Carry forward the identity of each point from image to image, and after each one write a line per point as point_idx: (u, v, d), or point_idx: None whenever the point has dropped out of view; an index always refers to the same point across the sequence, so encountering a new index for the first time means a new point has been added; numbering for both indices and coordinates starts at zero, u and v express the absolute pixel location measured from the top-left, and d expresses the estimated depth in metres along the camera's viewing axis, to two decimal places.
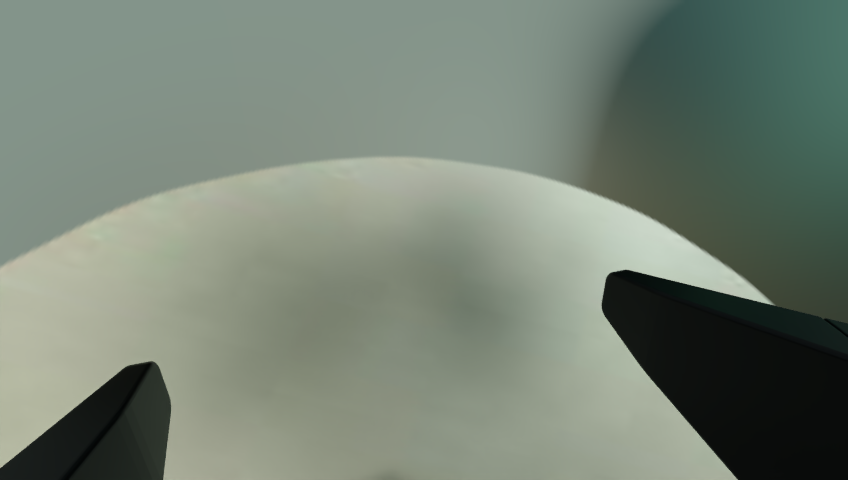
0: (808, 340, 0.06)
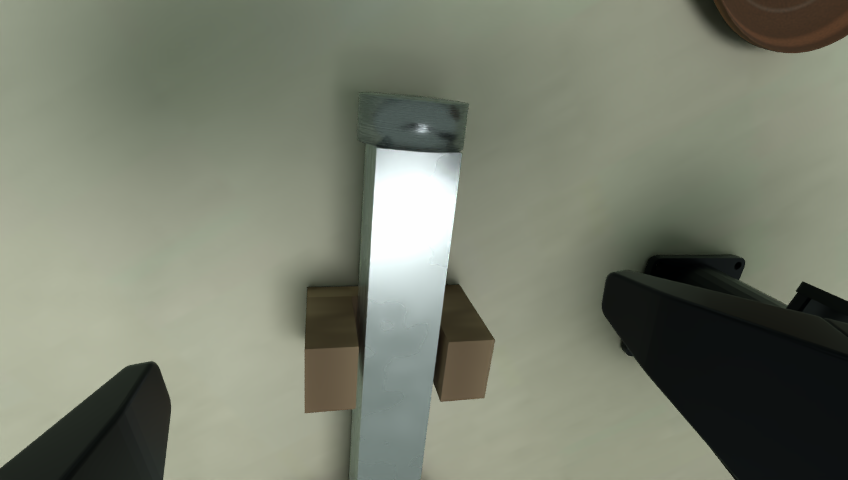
0: (808, 340, 0.06)
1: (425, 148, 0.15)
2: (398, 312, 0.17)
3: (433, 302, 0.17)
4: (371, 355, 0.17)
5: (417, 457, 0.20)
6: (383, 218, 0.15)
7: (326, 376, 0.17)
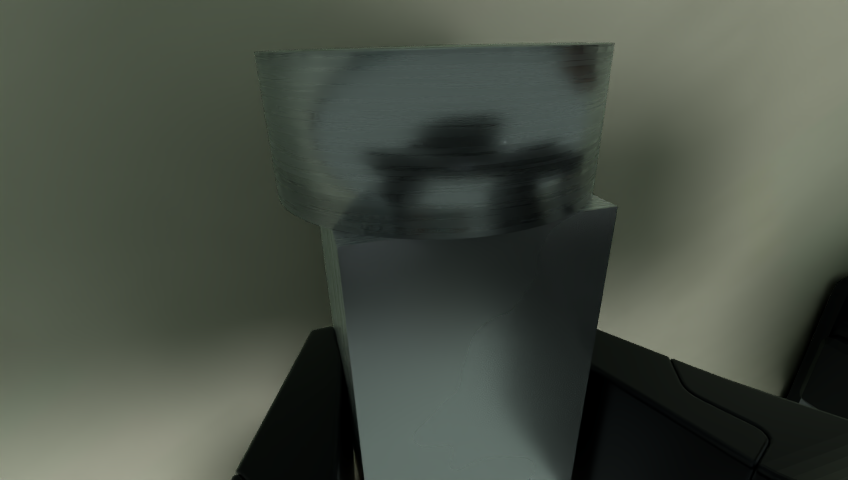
0: (638, 388, 0.05)
1: (512, 220, 0.04)
2: None
3: None
4: None
5: None
6: (393, 434, 0.05)
7: None
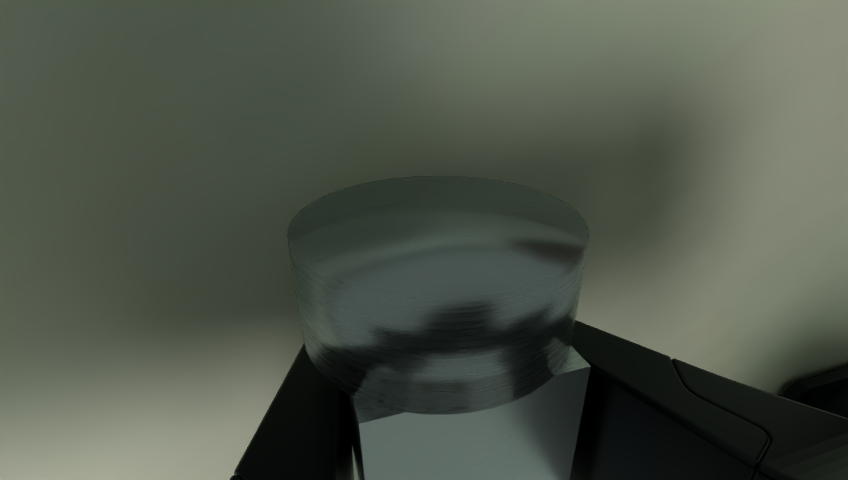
0: (639, 387, 0.05)
1: (501, 397, 0.05)
2: None
3: None
4: None
5: None
6: None
7: None
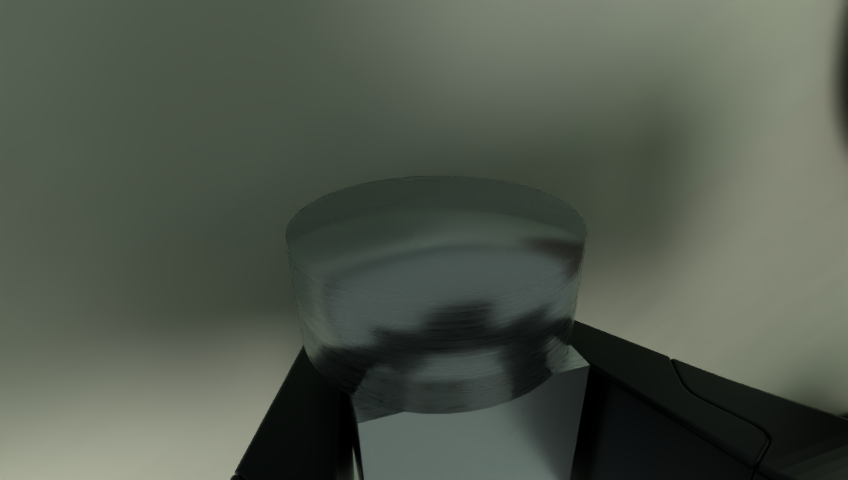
0: (639, 387, 0.05)
1: (500, 396, 0.05)
2: None
3: None
4: None
5: None
6: None
7: None
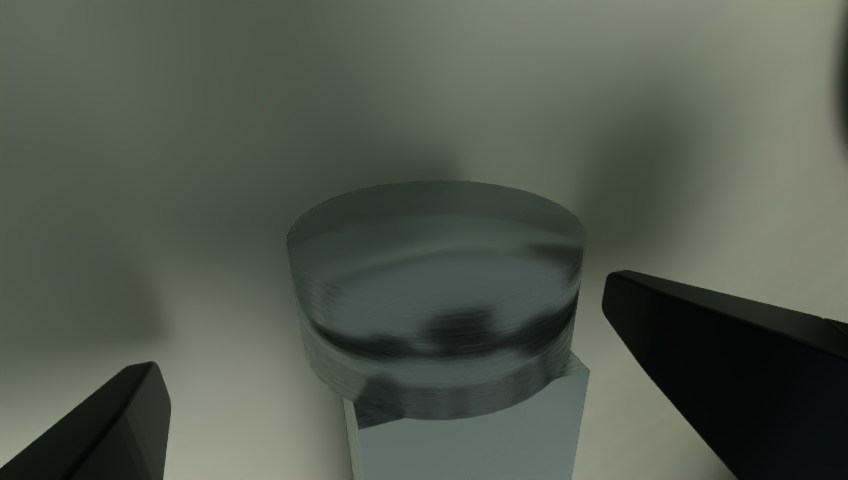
0: (808, 340, 0.06)
1: (500, 403, 0.05)
2: None
3: None
4: None
5: None
6: None
7: None
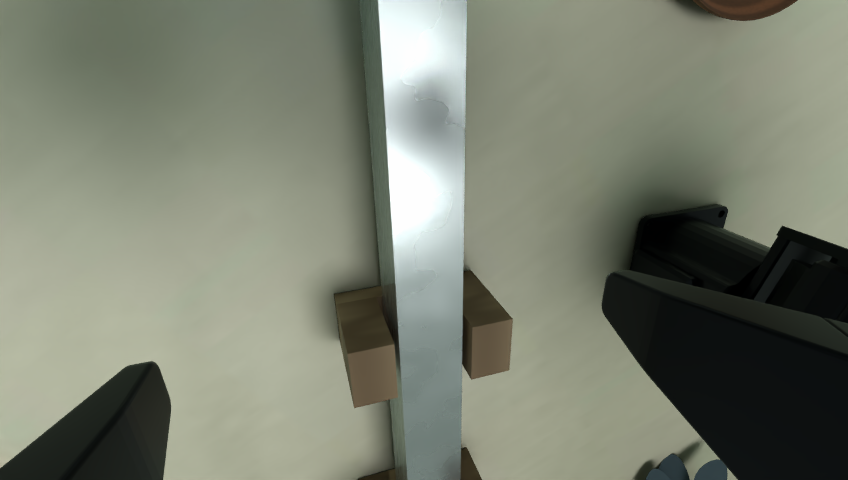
0: (808, 340, 0.06)
1: None
2: (420, 181, 0.17)
3: (455, 167, 0.17)
4: (398, 232, 0.17)
5: (456, 339, 0.20)
6: (393, 73, 0.15)
7: (369, 374, 0.19)
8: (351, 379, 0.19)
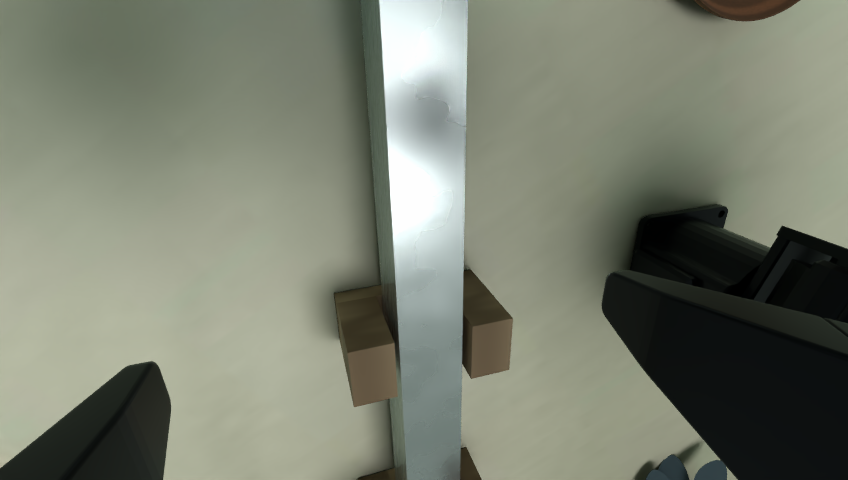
0: (808, 340, 0.06)
1: None
2: (421, 180, 0.16)
3: (455, 166, 0.17)
4: (399, 231, 0.17)
5: (456, 338, 0.20)
6: (394, 72, 0.15)
7: (369, 373, 0.19)
8: (351, 378, 0.19)
